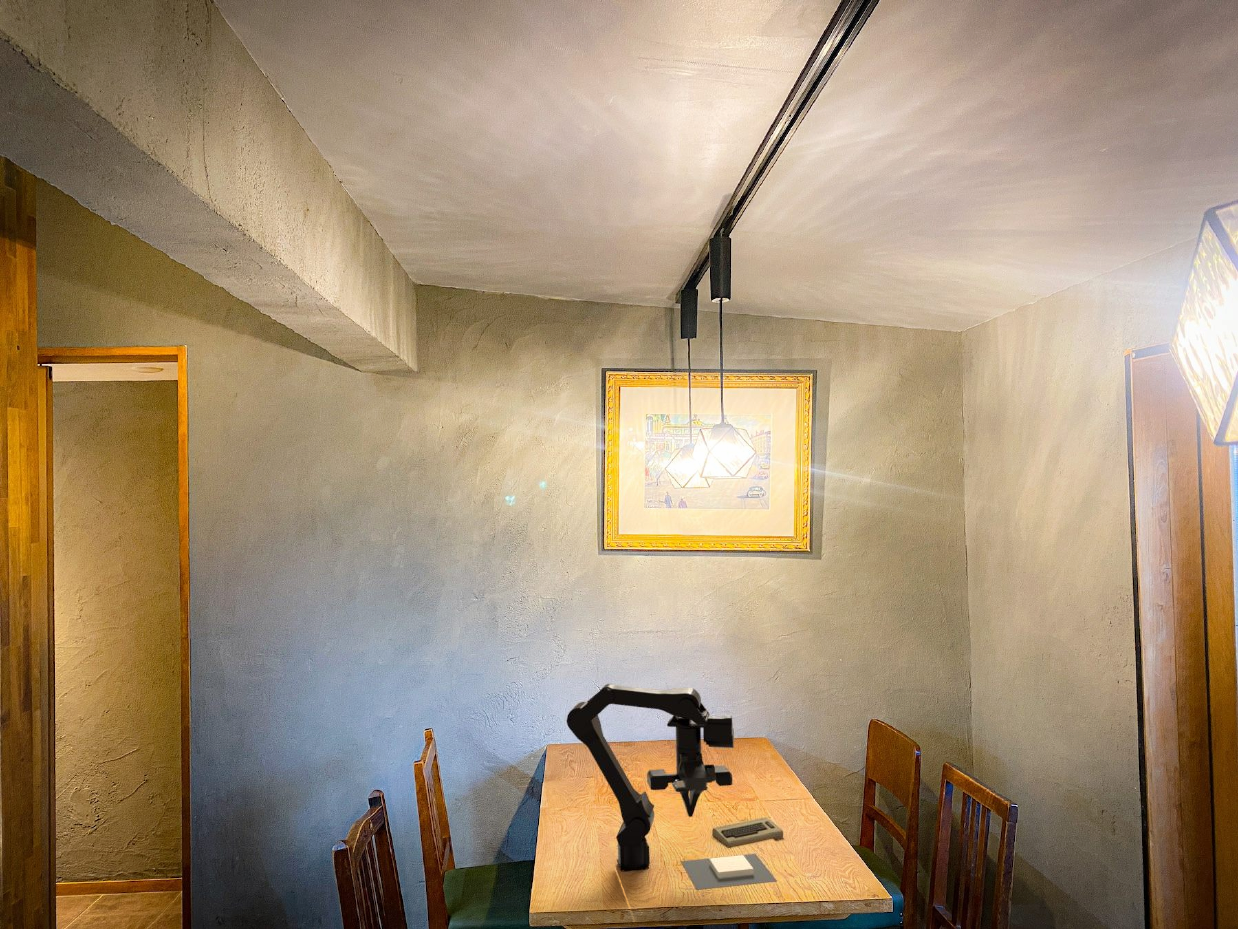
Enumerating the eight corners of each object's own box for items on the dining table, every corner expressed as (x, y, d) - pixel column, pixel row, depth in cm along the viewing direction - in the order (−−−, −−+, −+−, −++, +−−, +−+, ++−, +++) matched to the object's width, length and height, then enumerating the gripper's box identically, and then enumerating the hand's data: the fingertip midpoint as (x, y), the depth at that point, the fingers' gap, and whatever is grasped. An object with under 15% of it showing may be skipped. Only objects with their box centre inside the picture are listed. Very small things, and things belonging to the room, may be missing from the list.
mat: (696, 892, 166) (696, 890, 166) (680, 864, 179) (680, 861, 179) (777, 884, 169) (777, 881, 169) (755, 856, 182) (755, 853, 182)
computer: (728, 851, 186) (728, 837, 186) (711, 839, 194) (711, 825, 194) (784, 840, 192) (783, 826, 192) (765, 828, 200) (765, 815, 200)
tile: (718, 872, 170) (753, 868, 171) (709, 858, 177) (743, 855, 178) (718, 879, 170) (753, 875, 171) (709, 865, 177) (743, 862, 178)
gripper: (654, 759, 169) (655, 833, 168) (738, 754, 171) (740, 827, 170) (646, 744, 180) (647, 814, 179) (724, 740, 182) (726, 808, 181)
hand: (690, 816), depth 177 cm, fingers closed
